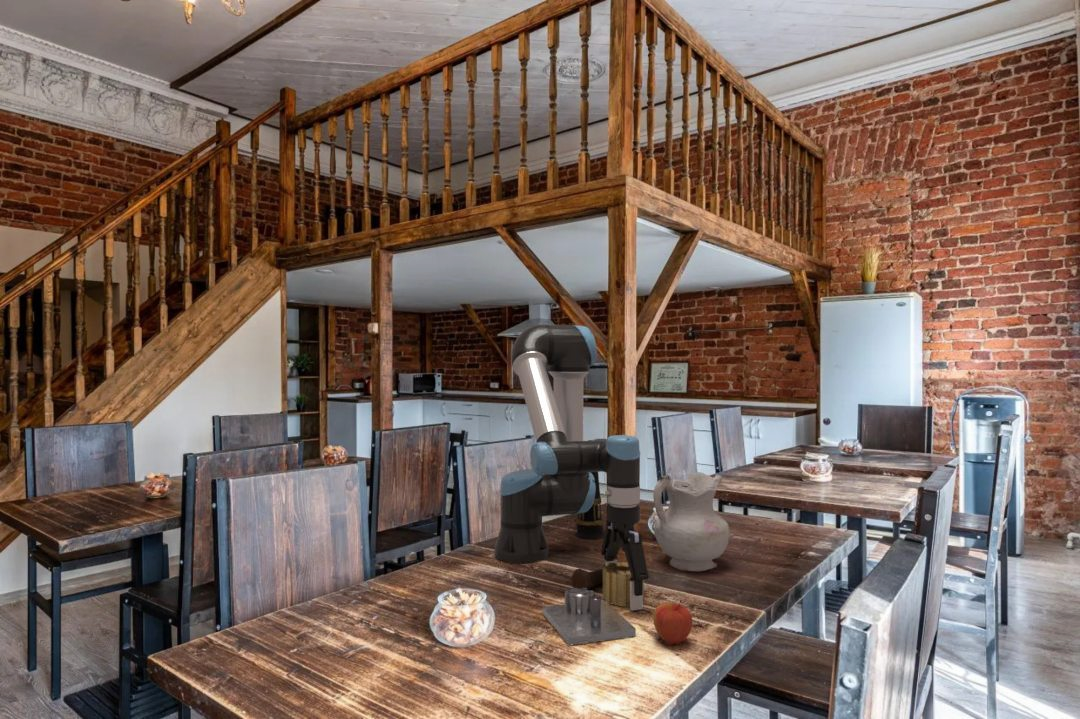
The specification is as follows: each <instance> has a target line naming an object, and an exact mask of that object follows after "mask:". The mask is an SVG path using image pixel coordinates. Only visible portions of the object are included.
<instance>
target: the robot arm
mask: <svg viewBox="0 0 1080 719" xmlns="http://www.w3.org/2000/svg"><path fill="white" fill-rule="evenodd" d="M597 351H598V349H597V341H596V339H595V335H594V334H593V332H592V330H591V329H590V328H589V327H588V326H585V325H577V324H576V325H575V324H534V325H532V326H529V327H527V328H526V329H524V330H523V331H522V332H521V333H520V334H519V335H518V336H517V338H516V339H515V341H514V343H513V346H512V349H511V353H510V359H511V360H510V361H511V362H510V363H511V365H512V366H511V367H512V370H513V372H514V374H516V375H517V376H518V377H519V378H518V379H519V382H520V386H521V389H522V393H523V398H524V400H525V406H526V407H527V408H526V409H527V412H528V416H529V420H530V424H531V427H532V432H533V436H534V439H535V442H534V443H532V445H531V447H530V453H529V459H530V466H531V469H530V468H529V469H528V468H526V469H520V470H514V471H511V472H508V473H507V474H504V476H503V477H502V478H501V480H500V490H499V493H500V528H499V532H498V535H497V538H496V542H495V545H494V551H493V552H494V557H495V558H496V559H497V560H500V561H502V562H507V563H515V564H525V563H526V564H528V563H535V562H540V561H543V560H545V559H546V558H548V556H549V544H548V542H547V540H546V536H545V533H544V530H543V517H551V516H553V517H554V516H567V515H572V516H574V515H578V513H579V514H581V513H585V512H587V511H588V510H589V509H590V508H591V506H592V505H593V502H594V498H595V492H596V485H595V483H594V482H595V479H594V476H593V475H592V473H590V472H598V473H599V472H604V473H606V490H605V491H604V493H605V495H606V502H607V503H608V504H607V505H606V520H605V530H604V533H605V535H604V538H603V540H602V546H601V549H600V554H601V556H603V559H604V561H605V564H606V566H607V565H608V564H609V563H618V560H619V558H618V553H619V552H620V548H621V551H622V552H624V555H625V559H626V561H627V563H628V566H629V569H630V573H631V576H632V577H631V578H630V579H629V580H630V606H629V610H630V611H638V610H640V611H641V610H643V609H644V605H643V604H644V602H643V580H644V581H645V580H649V572H648V568H647V563H646V562H647V561H646V556H645V551H644V547H643V535H642V532H641V531H638V532H636V531H635V525H636V524H638V523H639V522H640V520H641V512H640V510H641V506H639V504H640V503H641V485H640V482H641V481H640V477H641V476H640V474H641V460H640V459H641V451H640V450H641V449H640V440H639V438H638V437H636V436H635V435H634V436H633V435H629V434H628V435H627V434H618V435H617V434H616V435H610V436H608V437H607V438H594V439H590V440H591V441H588V440H584V381H585V380H584V379H585V378H586V376H587V375H588V374H590V367H592V366H594V365H595V363H596V361H597V360H596V359H597V354H598V352H597ZM547 367H548V368H547ZM547 369H548V371H547ZM548 374H550V375H551V376H552V378H553V388H552V385H551V381H550V379H549V378H550V377H549V375H548Z"/></svg>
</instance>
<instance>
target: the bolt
mask: <svg viewBox="0 0 1080 719" xmlns="http://www.w3.org/2000/svg"><path fill="white" fill-rule="evenodd" d="M603 566H606V563H605V564H604V565H603ZM603 566H602V567H601V568H600V569H596V570H593V571H587V570H585V569H582V568H575V570H574V572H572V576H571V584H572V588H577V589H582V588H587V590H589V591H590V589H591V587H594V586H597V585H600V584H603Z"/></svg>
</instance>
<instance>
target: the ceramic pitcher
mask: <svg viewBox="0 0 1080 719" xmlns="http://www.w3.org/2000/svg"><path fill="white" fill-rule="evenodd" d="M723 477H724V476H723V475H720V474H717V473H716V474H715V476H714V477H712V476H711V475H709V474H706V473H704V472H701V471H698V472H694V473H691V474H690V475H689V476H688V477H687V478H686V479H685V480H681V479H680V480H679V479H676V478H673V479H672V480H671V475H668V474H666V475H665V474H663V475H661V476H660V477H659V480H658V481H657V483H656V484H655V485H654V489H653V495H652V496H653V503H654V504H653V506H654V509H655V512H656V515H657V519H656V520H655V522H654V527H653V528H654V529H653V530H654V537H655V539H656V542H657V543H658V545H659V547H660V548H661V549H662V551H663V552H664V553H665V555H667V556H669V557H671V559H670V561H669V566H671V567H673V568H676V569H677V570H680V571H688V572H698V573H700V572H704V571H707V570H712V569H714V568H717V566H718V563H717V562H715V561H714V562H713V560H714V559H718V558H720V556H721V555H723V554H724V553H725V550H726V549H727V546H728V544H729V541H730V527H729V523H728V522H727V521H726V520H725V519H724V518H723V517H722V516H720V514H718V513H717V512H716V511H715V509H714V498H715V495H716V493H717V490H718V487H719V485H720V484H721V483H722V481H723ZM664 490H665V491H666V493H667V495H668V499H669V506H668V508H667V509H666V511H665V510H664V507H663V504H662V496H663V491H664Z"/></svg>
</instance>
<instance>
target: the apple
mask: <svg viewBox="0 0 1080 719" xmlns="http://www.w3.org/2000/svg"><path fill="white" fill-rule="evenodd" d="M681 603H682V600H681V599H680V600H679V603H676V602H664V603H660V604H659V605H657V606H656V607H655V609H654V612H653V617H652V618H653V625H654V628H655V632H656V633H657V634H658V636H659V637H660V638H661V639H662V640H664V641H665V642H667V643H668V644H670V645H672V644H675V645H677V644H678V645H679V644H680V643H682V642H683V641H685V640H686V639H687V638H688V637H689V635H690V633H691V630H692V627H693V616H692V613H691V610H689V609H688V608H687V607H685V606H684V605H682V604H681Z"/></svg>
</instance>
